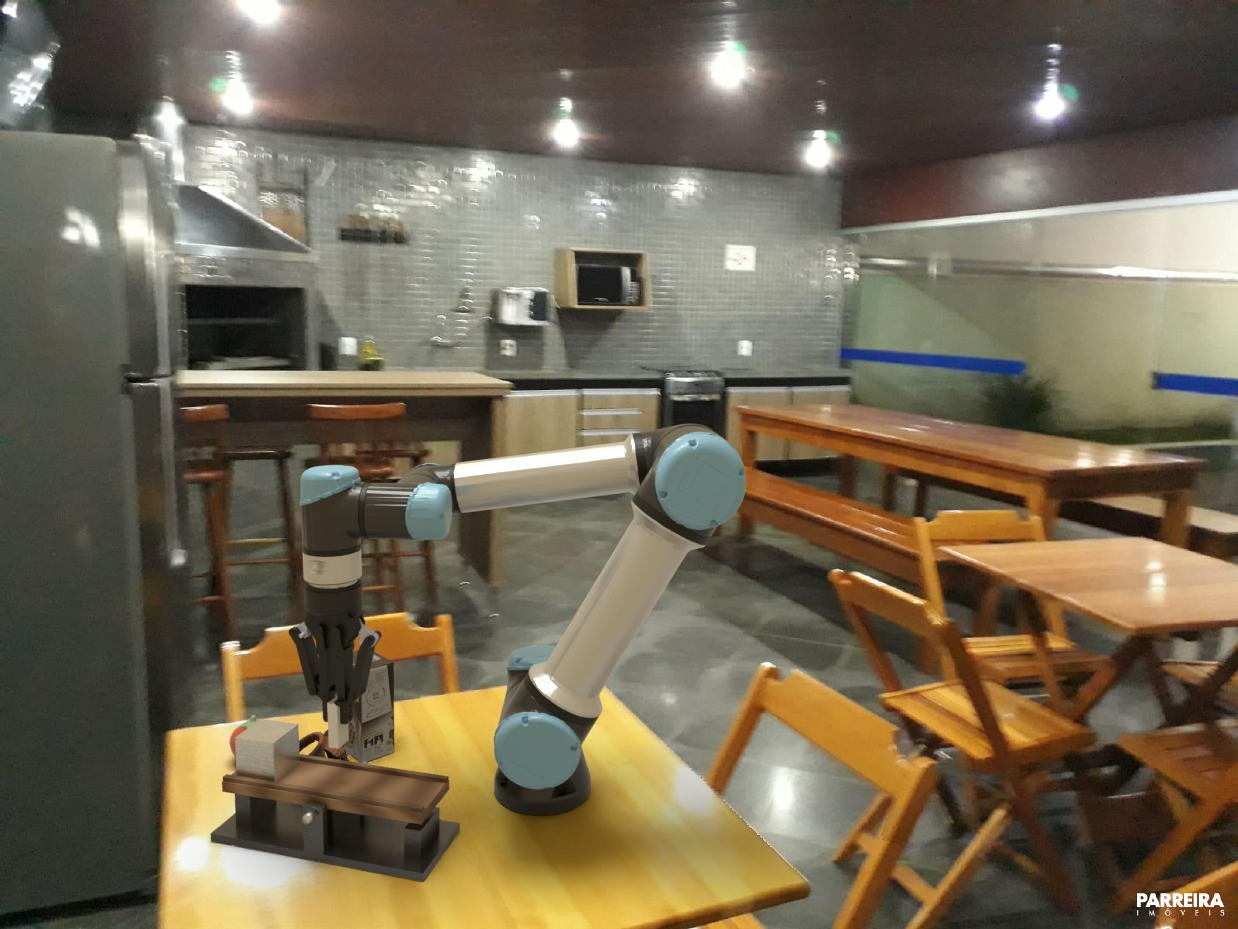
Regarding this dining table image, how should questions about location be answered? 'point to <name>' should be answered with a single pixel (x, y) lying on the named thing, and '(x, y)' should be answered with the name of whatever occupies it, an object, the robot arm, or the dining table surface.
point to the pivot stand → (338, 836)
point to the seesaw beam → (350, 788)
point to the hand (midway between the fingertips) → (338, 743)
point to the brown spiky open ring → (322, 746)
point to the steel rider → (267, 750)
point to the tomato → (240, 730)
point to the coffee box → (373, 713)
